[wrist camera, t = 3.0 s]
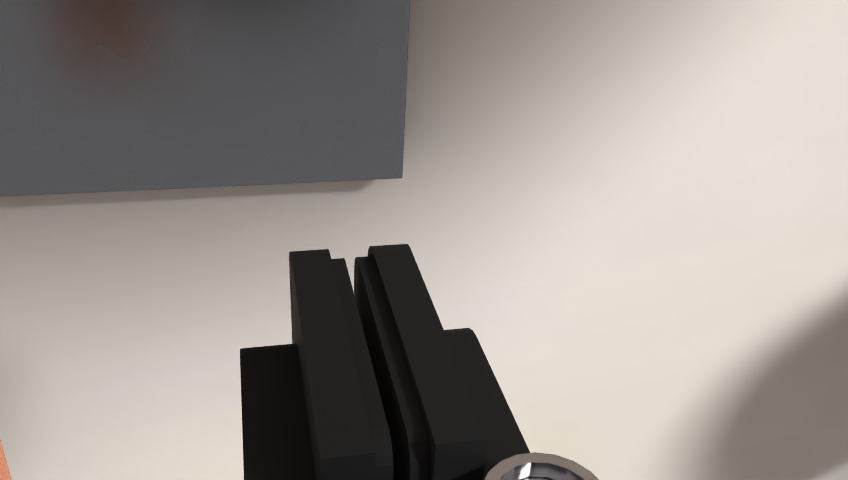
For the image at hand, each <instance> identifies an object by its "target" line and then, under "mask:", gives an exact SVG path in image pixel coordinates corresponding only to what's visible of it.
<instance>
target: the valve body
mask: <svg viewBox="0 0 848 480" xmlns="http://www.w3.org/2000/svg"><path fill="white" fill-rule="evenodd" d="M409 9H410V0H0V196H21V195H43V194H65V193H87V192H109V191H131V190H153V189H175V188H197V187H219V186H241V185H263V184H285V183H307V182H329V181H351V180H373V179H395V178H402V171H403V148H404V125H405V102H406V79H407V55H408V32H409Z"/></svg>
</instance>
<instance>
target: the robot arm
mask: <svg viewBox="0 0 848 480" xmlns="http://www.w3.org/2000/svg"><path fill="white" fill-rule="evenodd" d="M289 267H290V293H291V319H292V344H286V345H275V346H264V347H253V348H242V349H240V366H241V397H242V428H243V459H244V480H599V479H598V478H597V477H596V476H595V475H594V474H593V473H592V472H591V471H589V470H588V469H586V468H584V467H583V466H581V465H579V464H578V463H576V462H574V461H572V460H569V459H566V458H563V457H560V456H557V455H554V454H545V453H536V452H534V453H530V451H529V449H528V447H527V445H526V443H525V441H524V438H523V436H522V434H521V432H520V430H519V428H518V425H517V423H516V421H515V419H514V417H513V415H512V412H511V410H510V408H509V406H508V404H507V402H506V399H505V397H504V395H503V393H502V391H501V389H500V386H499V384H498V382H497V380H496V378H495V376H494V373H493V371H492V369H491V367H490V365H489V363H488V360H487V358H486V356H485V354H484V352H483V350H482V348H481V345H480V343H479V341H478V339H477V337H476V335H475V333H474V332H473V330H471V329H470V328H463V329H452V330H443V327H442V325H441V322H440V320H439V317H438V315H437V313H436V310H435V308H434V305H433V303H432V300H431V298H430V295H429V293H428V290H427V288H426V286H425V283H424V281H423V278H422V276H421V273H420V271H419V268H418V266H417V263H416V261H415V259H414V256H413V254H412V251H411V249H410V247H409V245H408V244H399V245H384V246H370V247H369V250H368V257H356V258H355V265H354V293H353V289H352V285H351V281H350V277H349V273H348V270H347V266H346V262H345V259H344V258H340V259H331V256H330V252H329V250H328V249H324V250H308V251H293V252H289Z"/></svg>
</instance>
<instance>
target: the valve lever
mask: <svg viewBox="0 0 848 480" xmlns="http://www.w3.org/2000/svg"><path fill="white" fill-rule="evenodd" d="M0 480H11V476H10V473H9V469H8V466H7V462H6V459H5V455H4V452H3V448H2V445H1V441H0Z"/></svg>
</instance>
